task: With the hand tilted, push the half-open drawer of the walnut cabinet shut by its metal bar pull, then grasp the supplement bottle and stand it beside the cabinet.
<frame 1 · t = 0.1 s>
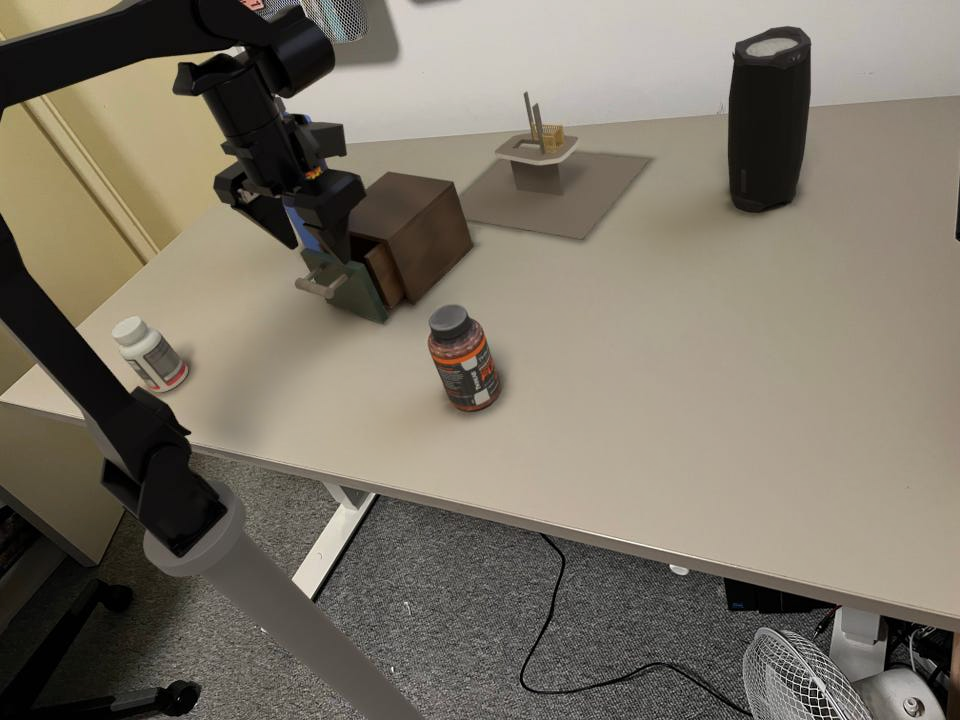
hand: (320, 254, 70), 15 cm above the table, tool pointing down, fingers open, 9 cm apart
architectural model: (544, 189, 97), on the table
portable speaker: (762, 197, 82), on the table
pill bottle: (171, 380, 86), on the table
water bottle: (333, 241, 102), on the table
cabinet: (412, 266, 91), on the table
supplement bottle: (476, 394, 70), on the table
drawer: (362, 268, 84), point 5 cm above the table, slide at 4.0 cm
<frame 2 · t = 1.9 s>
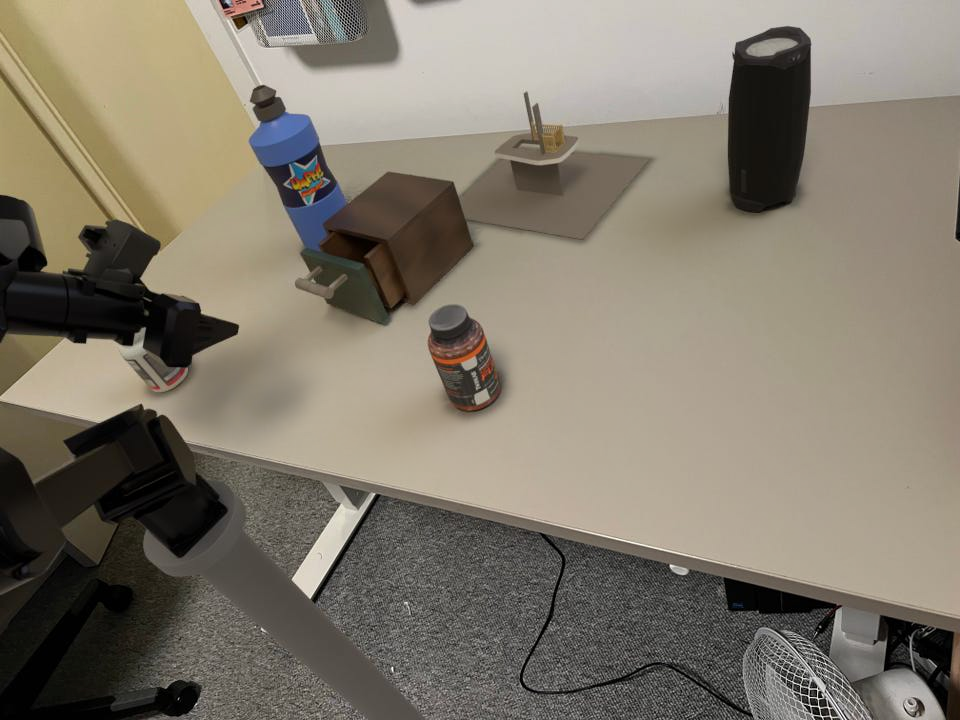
hand: (216, 319, 69), 13 cm above the table, tool tilted 45°, fingers open, 8 cm apart
nothing on the table moved.
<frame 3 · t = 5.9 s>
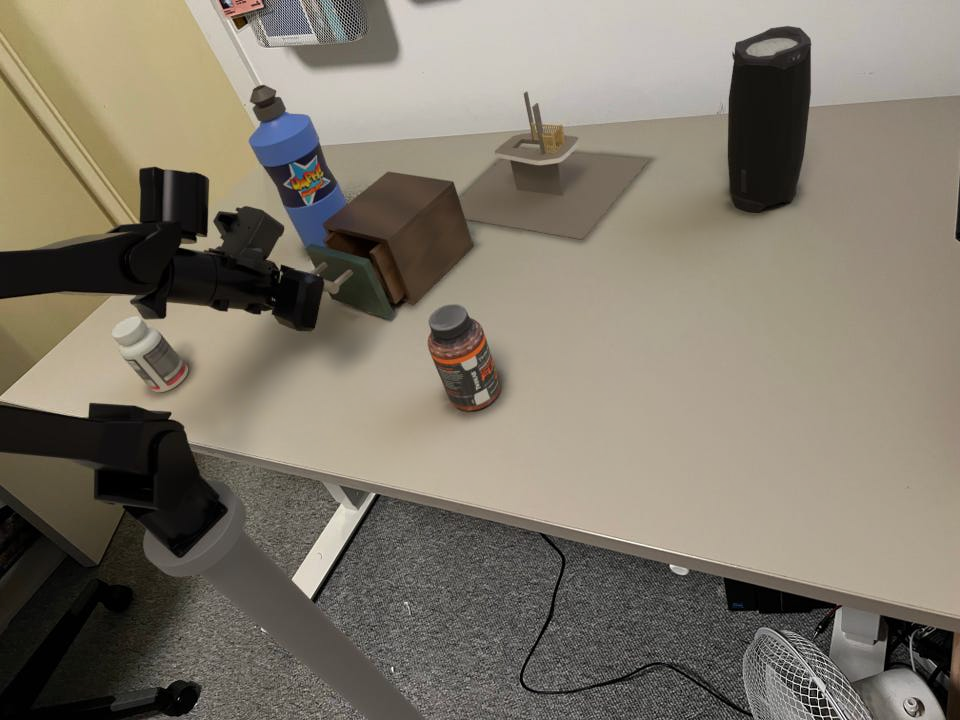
hand: (319, 294, 79), 7 cm above the table, tool tilted 45°, fingers closed, pressing on drawer
drawer: (367, 264, 84), point 5 cm above the table, slide at 3.0 cm, touching gripper
everything else where it was.
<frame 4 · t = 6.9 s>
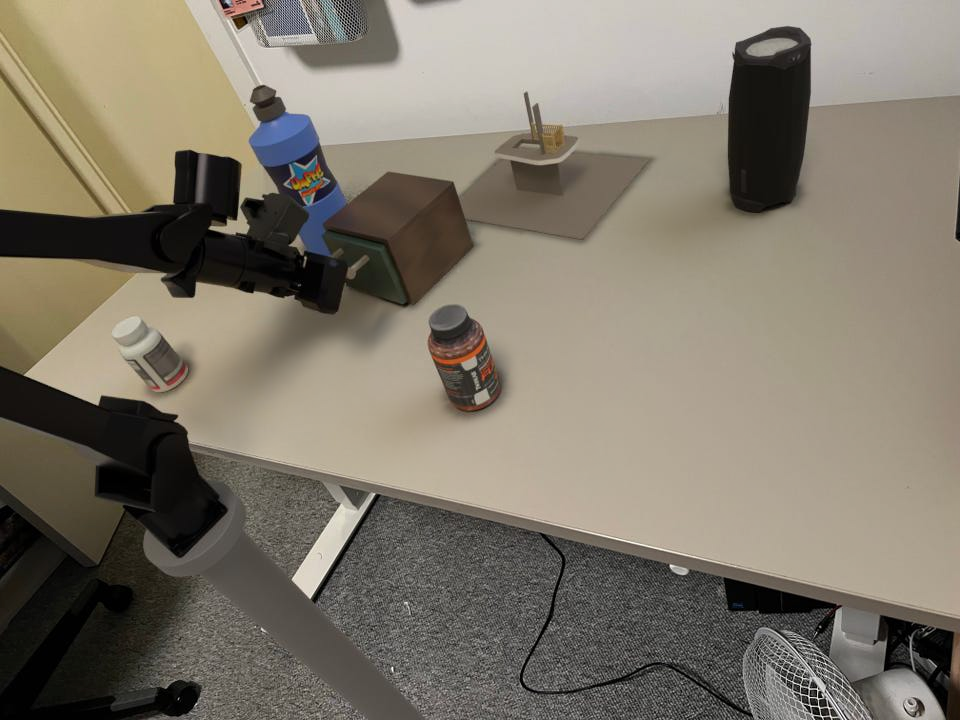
hand: (339, 282, 81), 6 cm above the table, tool tilted 45°, fingers closed, pressing on drawer
drawer: (382, 251, 86), point 5 cm above the table, slide at 0.0 cm, touching cabinet, gripper
everything else where it was.
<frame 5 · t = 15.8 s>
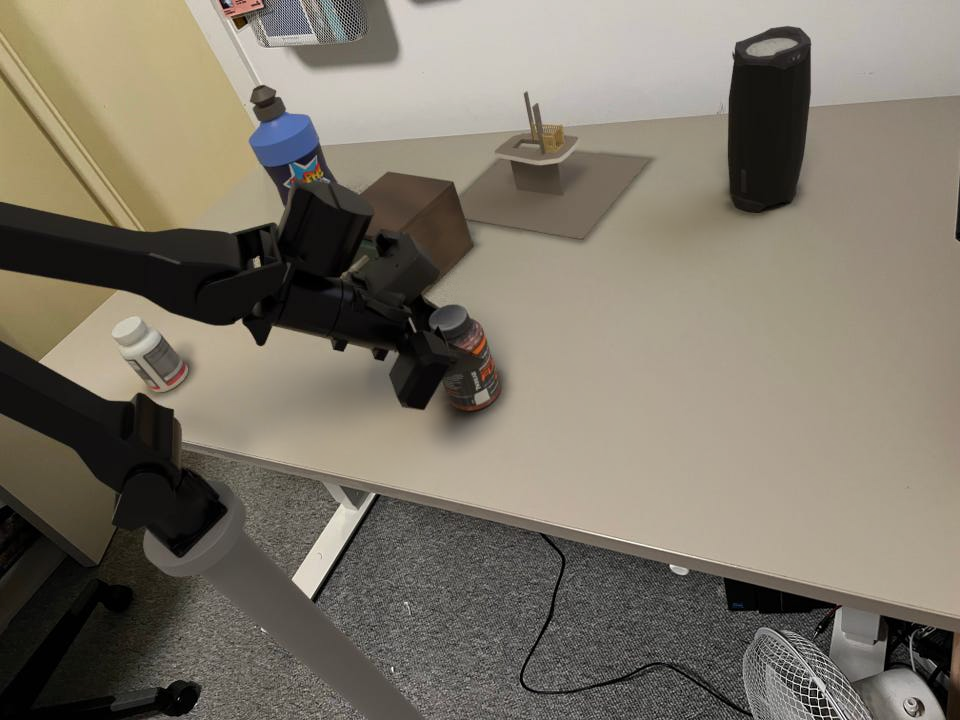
hand: (472, 345, 65), 7 cm above the table, tool tilted 45°, fingers closed on supplement bottle, 6 cm apart
supplement bottle: (476, 394, 70), on the table, touching gripper
drawer: (382, 251, 86), point 5 cm above the table, slide at 0.0 cm, touching cabinet
everything else where it was.
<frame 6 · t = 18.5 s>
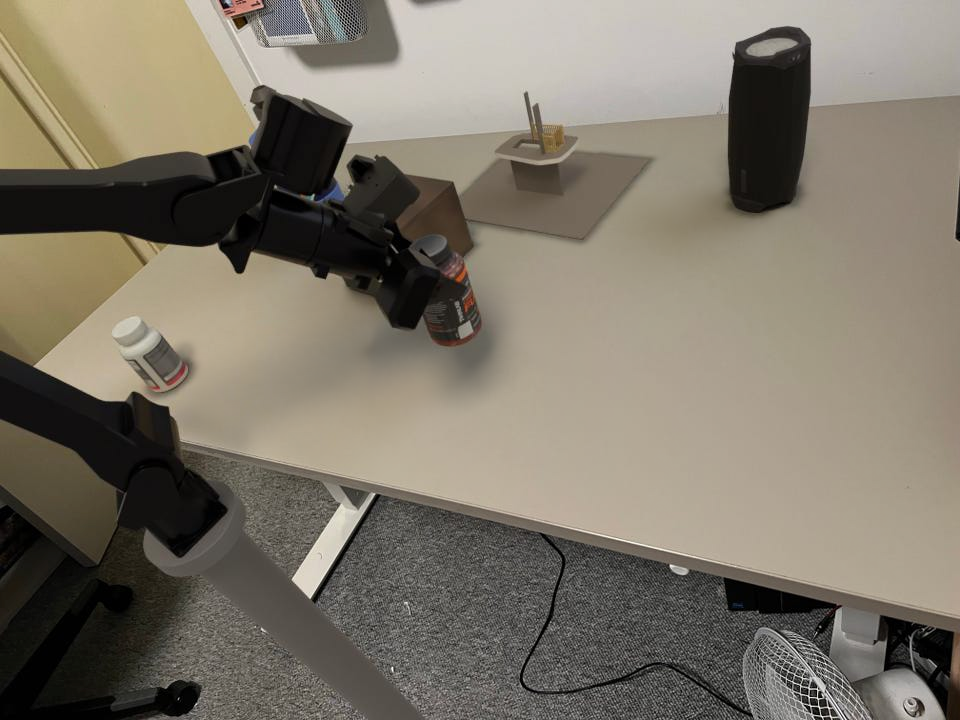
hand: (452, 277, 65), 12 cm above the table, tool tilted 45°, fingers closed on supplement bottle, 6 cm apart
supplement bottle: (457, 332, 69), point 6 cm above the table, touching gripper
everything else where it was.
when the fingers open (7 cm above the table, at t = 21.7 s): supplement bottle stays where it is, on the table.
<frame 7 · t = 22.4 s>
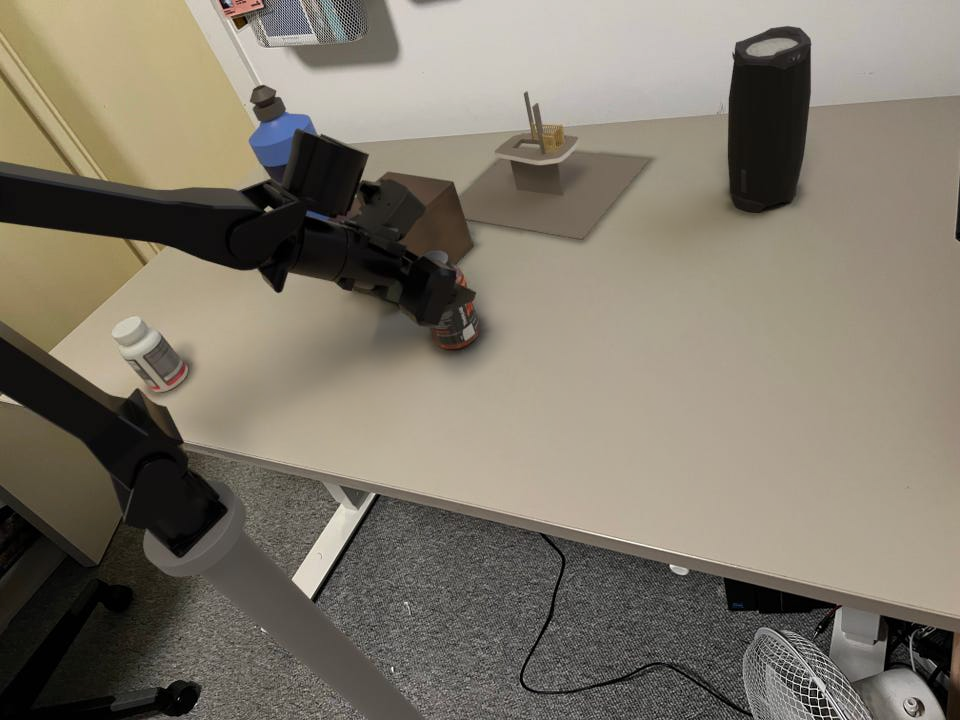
hand: (451, 281, 73), 7 cm above the table, tool tilted 45°, fingers open, 9 cm apart
supplement bottle: (458, 336, 78), on the table
everything else where it was.
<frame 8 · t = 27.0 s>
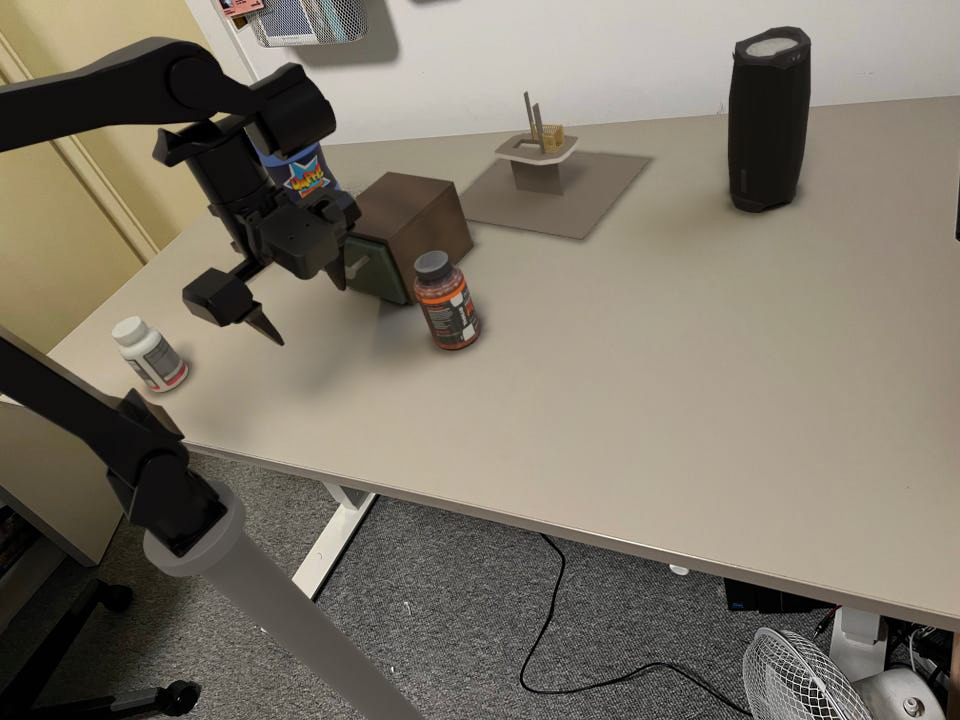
hand: (312, 316, 67), 12 cm above the table, tool pointing down, fingers open, 9 cm apart
nothing on the table moved.
at the end: drawer slide at 0.0 cm; supplement bottle inside the target area on the table beside the cabinet (0.2 cm from its centre), on the table; supplement bottle tilted 0° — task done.
